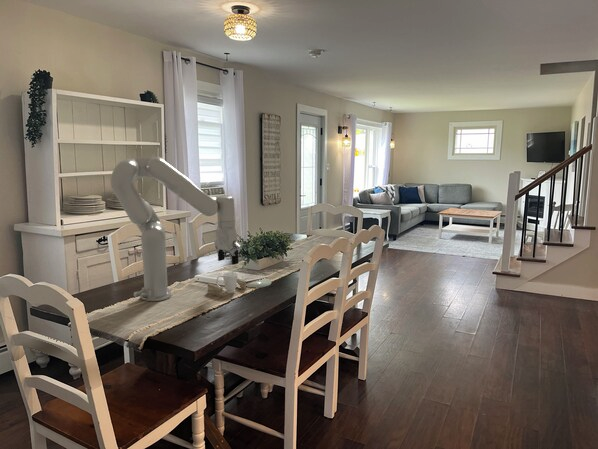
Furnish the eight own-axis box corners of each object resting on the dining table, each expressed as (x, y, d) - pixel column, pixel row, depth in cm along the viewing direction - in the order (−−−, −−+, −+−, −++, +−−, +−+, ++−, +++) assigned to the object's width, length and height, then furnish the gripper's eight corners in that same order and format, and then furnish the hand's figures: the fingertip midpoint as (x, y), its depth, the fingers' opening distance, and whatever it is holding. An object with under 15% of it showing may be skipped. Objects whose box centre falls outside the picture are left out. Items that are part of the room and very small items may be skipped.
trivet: (255, 289, 207) (255, 288, 206) (235, 283, 216) (235, 282, 216) (277, 283, 217) (277, 281, 217) (257, 277, 226) (257, 275, 226)
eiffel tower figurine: (227, 260, 259) (227, 237, 256) (213, 258, 263) (212, 235, 261) (242, 254, 272) (241, 233, 270) (227, 252, 276) (227, 231, 274)
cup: (235, 294, 200) (234, 276, 199) (213, 292, 202) (213, 275, 201) (240, 289, 207) (240, 272, 206) (219, 287, 209) (219, 270, 207)
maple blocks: (220, 297, 196) (220, 288, 195) (207, 292, 202) (207, 283, 201) (246, 289, 207) (246, 281, 206) (233, 285, 213) (233, 276, 212)
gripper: (207, 223, 202) (209, 260, 205) (232, 228, 191) (234, 267, 194) (220, 221, 208) (222, 257, 211) (246, 225, 196) (247, 263, 199)
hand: (228, 262), depth 202 cm, fingers open, 9 cm apart
